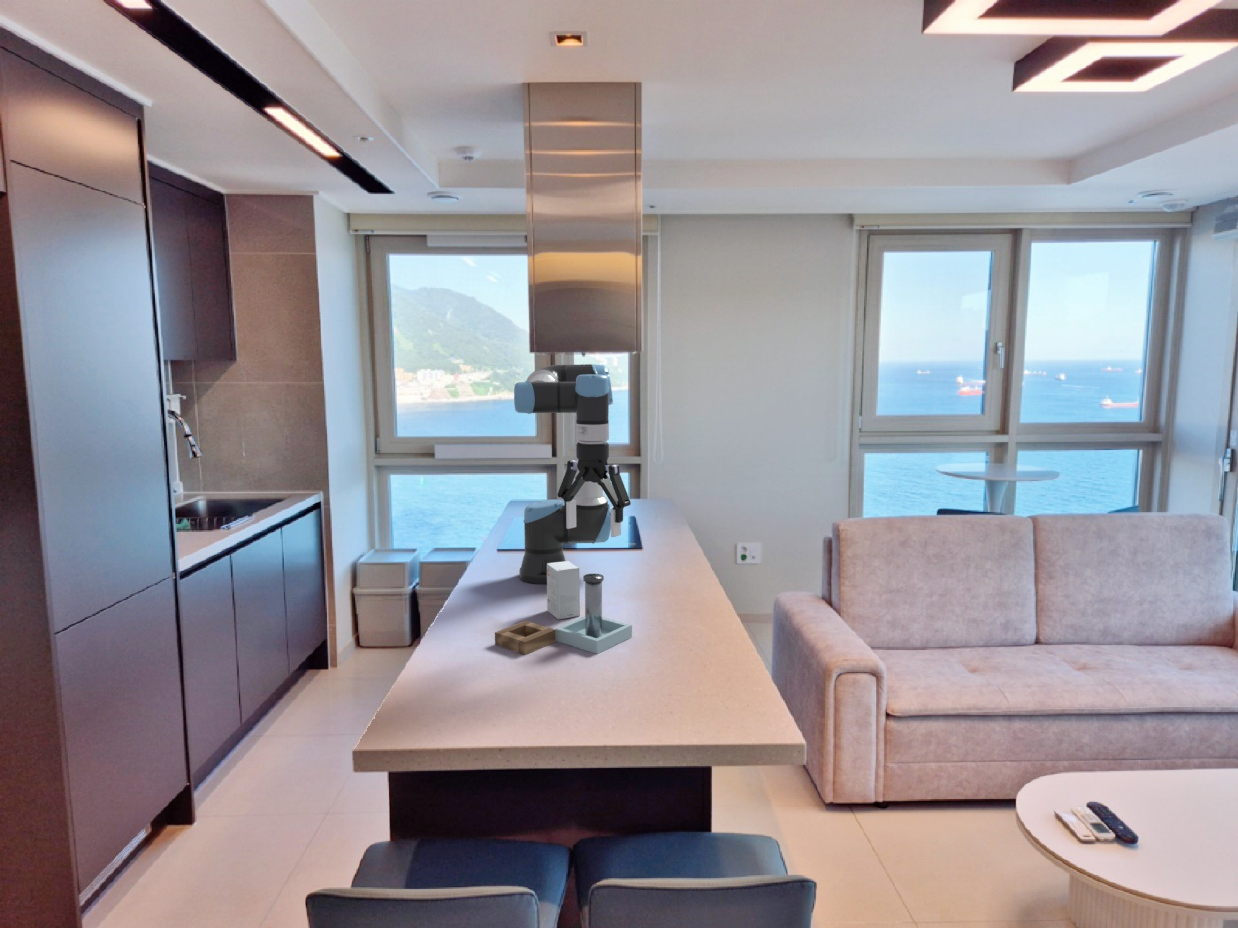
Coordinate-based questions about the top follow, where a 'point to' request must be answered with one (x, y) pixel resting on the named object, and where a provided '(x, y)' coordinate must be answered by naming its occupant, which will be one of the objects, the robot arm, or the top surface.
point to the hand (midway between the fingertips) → (593, 531)
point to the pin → (593, 604)
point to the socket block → (525, 637)
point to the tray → (576, 637)
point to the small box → (563, 590)
